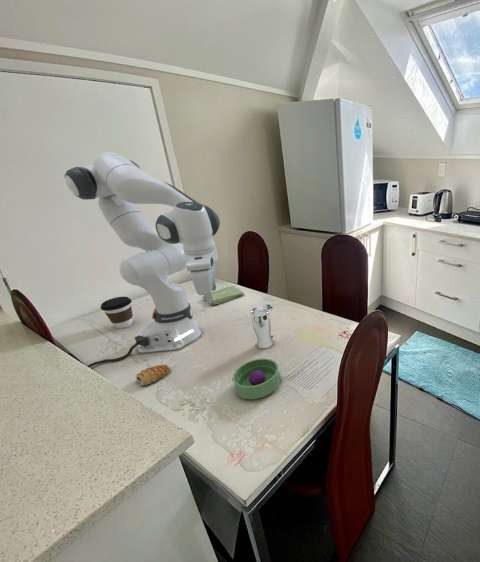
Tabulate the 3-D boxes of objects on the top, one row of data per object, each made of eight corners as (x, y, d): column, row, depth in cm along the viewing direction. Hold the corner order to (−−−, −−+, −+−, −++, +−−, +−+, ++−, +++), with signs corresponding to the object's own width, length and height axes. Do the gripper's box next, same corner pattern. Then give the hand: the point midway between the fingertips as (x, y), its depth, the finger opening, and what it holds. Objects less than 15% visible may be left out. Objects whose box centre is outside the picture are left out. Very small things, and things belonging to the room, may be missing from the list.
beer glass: (268, 350, 123) (263, 317, 117) (252, 348, 124) (246, 315, 118) (277, 340, 129) (272, 308, 123) (262, 338, 130) (256, 306, 124)
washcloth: (245, 295, 168) (244, 290, 167) (212, 307, 156) (211, 301, 155) (234, 288, 176) (233, 283, 175) (202, 299, 164) (200, 294, 163)
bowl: (235, 405, 97) (231, 392, 94) (236, 376, 109) (233, 364, 107) (282, 394, 101) (279, 380, 99) (278, 367, 113) (276, 354, 111)
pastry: (164, 366, 115) (161, 357, 113) (173, 373, 111) (170, 364, 109) (135, 380, 107) (132, 372, 106) (144, 388, 104) (140, 379, 102)
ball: (250, 391, 102) (247, 379, 99) (250, 380, 106) (247, 369, 104) (266, 387, 103) (264, 375, 101) (265, 376, 107) (263, 365, 105)
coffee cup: (110, 334, 135) (100, 310, 130) (108, 324, 142) (98, 301, 137) (140, 325, 141) (132, 301, 136) (137, 316, 149) (129, 293, 144)
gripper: (195, 247, 105) (205, 284, 110) (184, 268, 87) (196, 311, 93) (216, 245, 107) (224, 282, 112) (209, 265, 89) (219, 307, 95)
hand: (211, 295), depth 102 cm, fingers open, 8 cm apart
